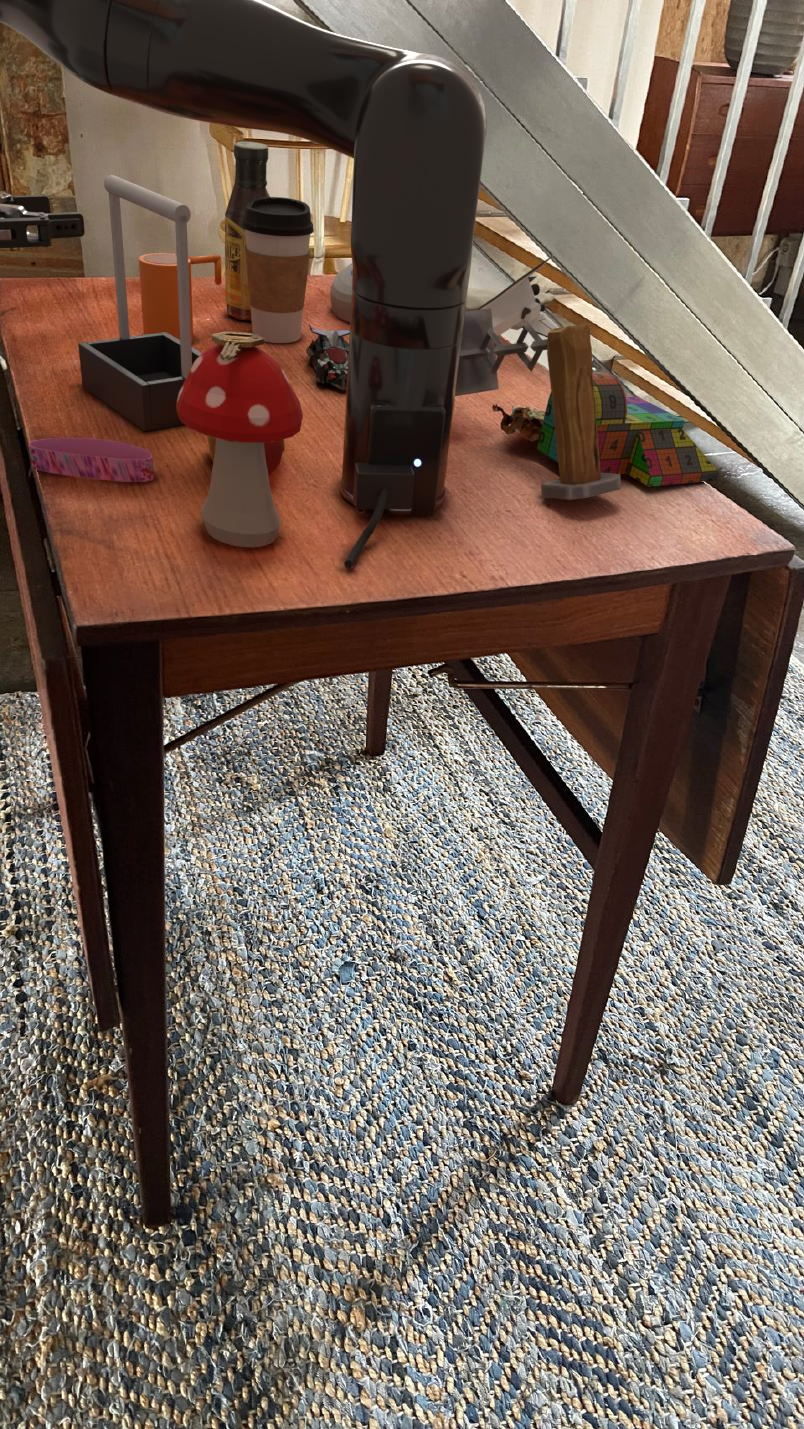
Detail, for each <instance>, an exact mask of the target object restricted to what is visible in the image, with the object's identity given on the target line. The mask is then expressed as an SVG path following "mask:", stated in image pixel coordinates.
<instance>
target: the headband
mask: <svg viewBox="0 0 804 1429" xmlns="http://www.w3.org/2000/svg"><path fill="white" fill-rule="evenodd" d="M28 449H29V450H28V451H29V456H30V457H29V458H30V465H31V468H32V469H34V470H37V471H40V472H44V473H48V474H56V475H62V476H67V477H78V478H85V479H92V480H101V481H111V482H112V481H113V482H123V483H147V482H151V481H153V480H154V479H155V475H154V473H155V472H154V460H153V458H154V456H153V454H152V452H151V451H149V450H147V449H145V448H143V447H140V446H137V445H134V444H131V443H126V442H122V441H117V440H110V439H104V438H103V439H102V438H90V437H50V438H42V439H36V440H32V441H30V442H28Z"/></svg>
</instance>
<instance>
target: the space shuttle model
mask: <svg viewBox="0 0 804 1429" xmlns="http://www.w3.org/2000/svg"><path fill="white" fill-rule="evenodd" d="M553 257H555V254H553V255H551V256H549V257H548V258H547V259H545V260H544V261H542V262H541V263H539V264H538V265H537V266H535V267H533V268H532V269H530V270H529V271H528V272H526V273H525V274H524V275H522V276H521V277H519V278H517V279H516V280H515V281H514V282H513V283H511V284H510V285H508V286H507V287H506V288H504V289H505V290H503V291H502V292H501V293H499V294H498V295H497V296H496V297H494V298H492V299H491V300H489V301H488V302H486V303H485V304H484V305H482V306H481V307H479V308H478V309H476V310H481V309H490V308H491V312H492V323H493V331H494V332H495V333H496V334H497V336H498V337H499V336H501V335H503V334H504V333H506V332H507V331H509V330H513V331H514V330H515V331H519V330H521V329H523V328H524V326H525V324H526V322H527V321H528V323H529V324H530V325H531V326H532V327H533V329H534V330H535V331H536V332H537V334H538V335H539V336H542V337H544V338H546V339H548V333H549V332H550V331H551V330H552V329H554V328H558V327H557V326H556V325H554V324H553V323H552V322H551V321H550V320H549V319H547V318H546V317H545V314H544V313H543V312H545V310H546V307H545V304H540V300H539V299H538V298H535V297H534V296H536V295H538V294H539V292H541V287H540V286H539V284H538V283H533V284H531V282H533V281H534V280H535V279H537V277H538V276H532V275H533V274H535V273H536V272H537V271H538V270H539V269H540V268H541V267H542V266H544V265H545V264H546V263H547V262H549V260H551V259H552V258H553Z"/></svg>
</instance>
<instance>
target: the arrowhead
mask: <svg viewBox="0 0 804 1429" xmlns="http://www.w3.org/2000/svg"><path fill="white" fill-rule="evenodd" d="M505 289H506V288H472V287H471V288H469V287H468V292H467V299H466V308H465V311H473V310H476V309H478V308H479V307H481V306H482V305H484V304H485V303H486V302H488V301H489V300H491V299H492V298H494V297H496V296H497V295H498V294H499V293H501V292H502V291H503V290H505ZM534 297H535V298H538V299H539V300H540V304H543V305H546V304H549V303H552V302H553V301H554V300H555V295H554V294H552V293H550V292H542V291H540V292H539V294H538V295H536V296H534Z"/></svg>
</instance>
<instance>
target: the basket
mask: <svg viewBox="0 0 804 1429" xmlns="http://www.w3.org/2000/svg"><path fill="white" fill-rule="evenodd" d="M103 187H104V189H105V191H106V192H107V193H108V205H109V215H110V216H109V217H110V230H111V242H112V254H113V255H112V256H113V268H114V269H113V270H114V281H115V283H114V284H115V295H116V296H115V297H116V307H117V308H116V309H117V319H118V321H117V322H118V333H119V337H117V338H116V337H115V338H107V339H100V340H99V339H98V340H92V341H85V342H78V343H77V346H78V356H79V366H80V376H81V387H82V388H84V389H85V390H86V391H88V392H89V393H90V394H92V395H94V396H95V397H96V398H98V399H99V400H100V401H102V402H103V403H105V404H106V405H107V406H108V407H110V408H111V409H113V410H114V411H116V412H117V413H119V414H120V415H121V416H122V417H124V418H125V419H127V420H128V421H129V422H131V423H132V424H134V425H135V426H137V427H138V428H139V429H140V430H141V431H143V432H150V431H151V432H152V431H155V430H162V429H166V428H172V427H178V426H183V425H185V424H183V423H182V422H181V421H180V418H179V416H178V413H177V409H176V403H177V399H178V395H179V392H180V390H181V388H182V386H183V384H184V382H185V380H186V378H187V376H188V374H189V372H190V369H191V367H192V365H193V363H194V362H195V360H196V359H197V358H198V357H199V356H200V355H201V354H202V353H203V352H201V351H199V350H198V349H196V348H194V347H193V346H192V343H191V324H190V297H189V270H188V257H189V250H188V249H189V248H188V247H189V246H188V242H189V241H188V223H189V222H190V219H191V217H192V215H191V214H192V213H191V209H190V208H189V206H188V205H186V204H183V203H181V202H179V201H176V200H174V199H171V198H169V197H167V196H165V195H163V194H159V193H157V192H155V191H153V190H150V189H148V188H145V187H143V186H141V185H138V184H135V183H133V182H130V181H128V180H126V179H124V178H121V177H119V176H117V175H114V174H108V175H107V176H106V177H105V178H104V180H103ZM121 199H123V200H125V201H127V202H130V203H132V204H134V205H136V206H139V207H141V208H143V209H146V210H148V211H150V212H152V213H155V214H157V215H159V216H161V217H164V218H165V219H168V220H170V221H171V222H174V225H175V226H174V227H175V229H174V230H175V249H176V254H177V276H178V300H179V323H180V340H179V339H177V338H175V337H173V336H172V335H170V334H168V333H167V332H163V333H155V334H147V335H144V334H141V335H133V336H131V335H130V323H129V308H128V294H127V281H126V266H125V251H124V239H123V224H122V223H123V222H122V211H121Z"/></svg>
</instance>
